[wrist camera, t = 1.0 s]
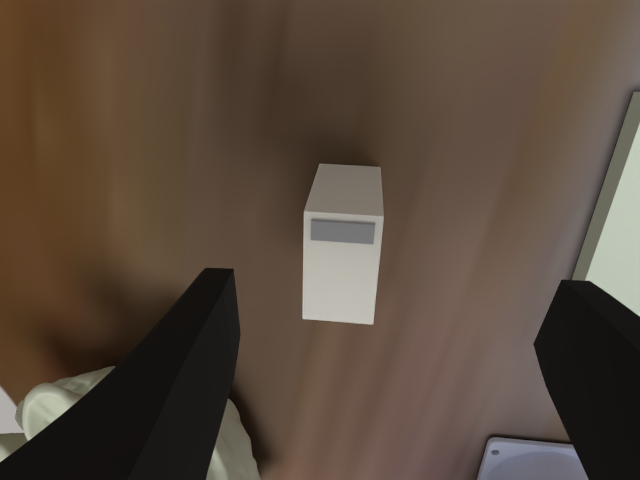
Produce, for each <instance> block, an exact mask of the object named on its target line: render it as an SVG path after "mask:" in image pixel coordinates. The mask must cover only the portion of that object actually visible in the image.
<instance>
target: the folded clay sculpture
mask: <svg viewBox="0 0 640 480" xmlns="http://www.w3.org/2000/svg"><path fill="white" fill-rule="evenodd" d="M114 367H115V366H110V367H106V368H103V369H101V370H97V371H92V372H88V373H85V374H81V375H78V376H76V377H68V378H62V379H60V380H58V381H56V382H54V383H53V384H51V383H42V384H40V385H38V386H36V387H34V388H33V389H32V390H31V391H30V392H29V393H28V394H27V396H26V398H25V399H23V400H22V401H20V403H19V405H18V407H17V410H16V415H15V419H16V421H17V423H18V424H19V426H20V427H21V428H22V430H24V433H9V434H0V462H1V461H2V460H4V459H5V458H7V457H8V456H9V455H11V454H12V453H13V452H15V451H16V450H17V449H18V448H20V447H21V446H22V445H24V444H25V443H26V442H28V441H29V440H30V439H32V438H33V437H34V436H35V435H37V434H38V433H39V432H40V431H42V430H43V429H44V428H45V427H47V426H48V425H49V424H50V423H52V422H53V421H54V420H55V419H57V418H58V417H59V416H61V415H62V414H63V413H64V412H65V411H67V410H68V409H69V408H70V407H71V406H72V405H74V404H75V403H76V402H77V401H78V400H79V399H81V398H82V397H83V396H84V395H85V394H86V393H87V392H89V391H90V390H91V389H92V388H93V387H94V386H95V385H96V384H97V383H99V382H100V381H101V380H102V379H103V378H104V377H105V376H106V375H107V374H108V373H109V372H110V371H111V370H112V369H113V368H114ZM206 480H261V478H260V476H259V473H258V469H257V463H256V460H255V459H254V458H253V456H252V449H251V440H250V438H249V436H248V434H247V433H246V431H245V429H244V427H243V425H242V424H241V421H240V415H239V412H238V411H237V409H236V407H235V405H234V404H233V402H232V401H231V400H230V399H228V401H227V404H226V408H225V412H224V415H223V419H222V422H221V426H220V430H219V433H218V437H217V440H216V444H215V448H214V451H213V455H212V459H211V462H210V466H209V469H208V473H207V477H206Z"/></svg>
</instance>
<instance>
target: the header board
mask: <svg viewBox="0 0 640 480" xmlns="http://www.w3.org/2000/svg"><path fill="white" fill-rule="evenodd" d="M572 280H583V281H591V282H592V283H594V284H595V285H597V286H598V287H600V288H601V289H603V290H604V291H606V292H607V293H608V294H610V295H611V296H613V297H614V298H615V299H617V300H618V301H619V302H621V303H622V304H624V305H625V306H626V307H628V308H629V309H630V310H632V311H633V312H634V313H636V314H637V315H638V316H640V92H633V95H632V98H631V101H630V104H629V107H628V111H627V114H626V117H625V120H624V123H623V126H622V129H621V132H620V135H619V138H618V141H617V144H616V147H615V150H614V153H613V156H612V159H611V162H610V165H609V168H608V171H607V174H606V177H605V180H604V183H603V186H602V189H601V192H600V195H599V198H598V201H597V204H596V207H595V210H594V213H593V216H592V219H591V222H590V225H589V228H588V231H587V234H586V238H585V241H584V244H583V247H582V250H581V253H580V256H579V259H578V262H577V265H576V268H575V271H574V274H573V277H572Z"/></svg>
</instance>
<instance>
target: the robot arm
mask: <svg viewBox="0 0 640 480" xmlns="http://www.w3.org/2000/svg"><path fill="white" fill-rule="evenodd" d="M239 341H240V324H239V315H238V306H237V296H236V287H235V278H234V269H223V268H205V269H204V270H203V271H202V272H201V273H200V274H199V275H198V277H197V278H196V279H195V280H194V282H193V283H192V284H191V285H190V286H189V288H188V289H187V290H186V291H185V292H184V294H183V295H182V296H181V297H180V298H179V299H178V301H177V302H176V303H175V304H174V305H173V306H172V308H171V309H170V310H169V311H168V312H167V313H166V314H165V315H164V317H163V318H162V319H161V320H160V321H159V322H158V323H157V324H156V325H155V326H154V328H153V329H152V330H151V331H150V332H149V333H148V334H147V335H146V336H145V337H144V338H143V339H142V341H141V342H140V343H139V344H138V345H137V346H136V347H135V348H134V349H133V350H132V351H131V352H130V353H129V354H128V355H127V356H126V357H125V358H124V359H123V360H122V361H121V362H120V363H119V364H117V365H116V366H115V367H114V368H113V369H112V370H111V371H110V372H109V373H108V374H107V375H106V376H105V377H104V378H103V379H102V380H101V381H100V382H99V383H97V384H96V385H95V386H94V387H93V388H92V389H91V390H90V391H89V392H87V393H86V394H85V395H84V396H83V397H82V398H81V399H79V400H78V401H77V402H76V403H75V404H74V405H72V406H71V407H70V408H69V409H68V410H67V411H65V412H64V413H63V414H62V415H61V416H59V417H58V418H57V419H55V420H54V421H53V422H52V423H50V424H49V425H48V426H47V427H45V428H44V429H43V430H42V431H40V432H39V433H38V434H37V435H35V436H34V437H33V438H32V439H30V440H29V441H28V442H26V443H25V444H24V445H22V446H21V447H20V448H18V449H17V450H16V451H15V452H13V453H12V454H11V455H9V456H8V457H7V458H5V459H4V460H2V461H1V462H0V480H206V477H207V473H208V469H209V466H210V462H211V459H212V455H213V451H214V448H215V444H216V440H217V437H218V433H219V430H220V426H221V422H222V419H223V415H224V412H225V408H226V404H227V401H228V397H229V393H230V390H231V386H232V382H233V378H234V374H235V367H236V361H237V355H238V348H239ZM534 347H535V351H536V355H537V358H538V362H539V365H540V369H541V372H542V375H543V378H544V381H545V384H546V387H547V389H548V392H549V394H550V396H551V399H552V401H553V403H554V405H555V407H556V410H557V412H558V414H559V416H560V419H561V421H562V423H563V425H564V427H565V429H566V432H567V434H568V436H569V438H570V440H571V442H572V445H571V444H560V443H550V442H540V441H530V440H519V439H509V438H499V437H493V438H491V439H489V440H488V442H487V445H486V449H485V452H484V456H483V459H482V463H481V466H480V470H479V473H478V477H477V480H640V316H638V315H637V314H636V313H634V312H633V311H632V310H630V309H629V308H628V307H626V306H625V305H624V304H622V303H621V302H619V301H618V300H617V299H615V298H614V297H613V296H611V295H610V294H608V293H607V292H606V291H604V290H603V289H601V288H600V287H598V286H597V285H595V284H594V283H592V282H591V281H583V280H561V282H560V284H559V287H558V289H557V291H556V294H555V296H554V298H553V300H552V303H551V305H550V307H549V310H548V312H547V314H546V316H545V319H544V321H543V323H542V326H541V328H540V330H539V333H538V335H537V337H536V339H535V342H534Z"/></svg>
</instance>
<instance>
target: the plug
mask: <svg viewBox="0 0 640 480" xmlns="http://www.w3.org/2000/svg"><path fill="white" fill-rule="evenodd" d="M383 220H384V211H383V196H382V181H381V167H373V166H356V165H338V164H320V163H319V166H318V169H317V173H316V176H315V179H314V182H313V185H312V188H311V191H310V194H309V197H308V200H307V203H306V206H305V209H304V239H303V319H311V320H323V321H335V322H347V323H359V324H372V325H373V320H374V310H375V300H376V290H377V280H378V270H379V260H380V250H381V240H382V230H383Z"/></svg>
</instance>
